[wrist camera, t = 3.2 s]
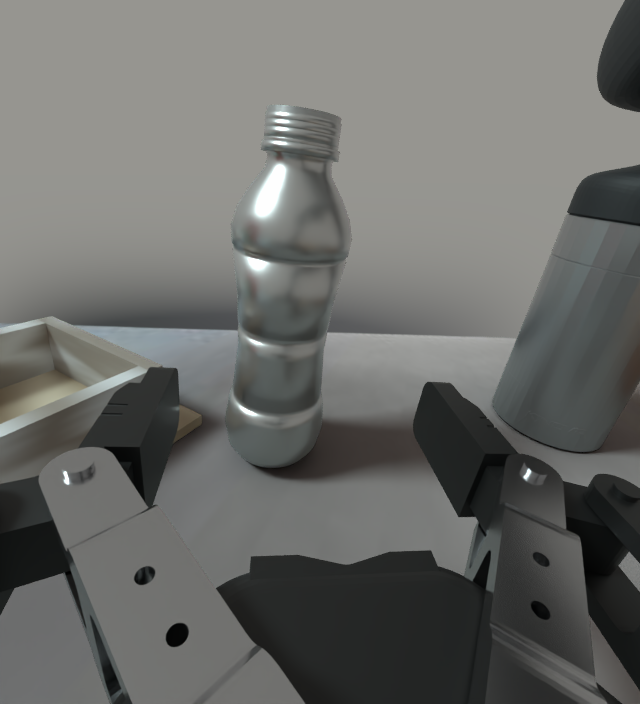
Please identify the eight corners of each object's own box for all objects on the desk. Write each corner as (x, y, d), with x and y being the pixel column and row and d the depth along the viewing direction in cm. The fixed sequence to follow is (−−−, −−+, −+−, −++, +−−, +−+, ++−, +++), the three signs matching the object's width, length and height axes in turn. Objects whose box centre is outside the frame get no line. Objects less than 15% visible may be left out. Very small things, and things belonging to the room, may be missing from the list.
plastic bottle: (323, 427, 29) (374, 131, 20) (308, 493, 23) (370, 110, 14) (243, 411, 29) (259, 115, 21) (207, 471, 23) (208, 88, 15)
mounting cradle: (65, 356, 33) (55, 305, 31) (201, 424, 27) (201, 366, 25) (-242, 457, 20) (-294, 380, 18) (-105, 632, 14) (-158, 547, 12)
